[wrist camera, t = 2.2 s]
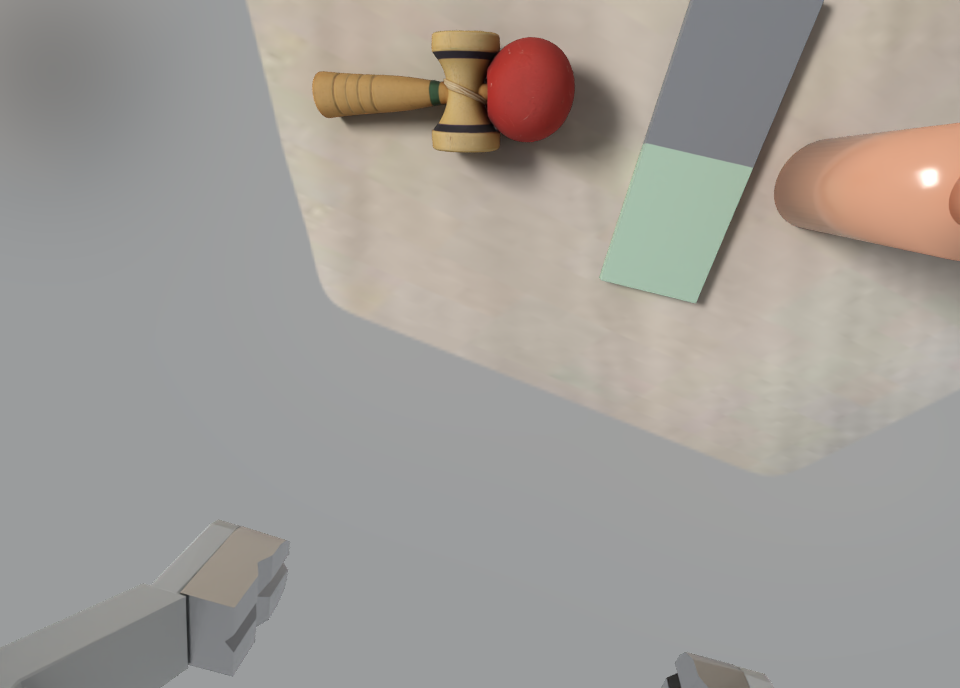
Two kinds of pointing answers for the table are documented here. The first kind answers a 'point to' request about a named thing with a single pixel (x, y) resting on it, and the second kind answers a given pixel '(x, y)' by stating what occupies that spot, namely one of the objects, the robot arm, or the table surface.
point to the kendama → (467, 91)
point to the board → (705, 140)
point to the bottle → (879, 189)
